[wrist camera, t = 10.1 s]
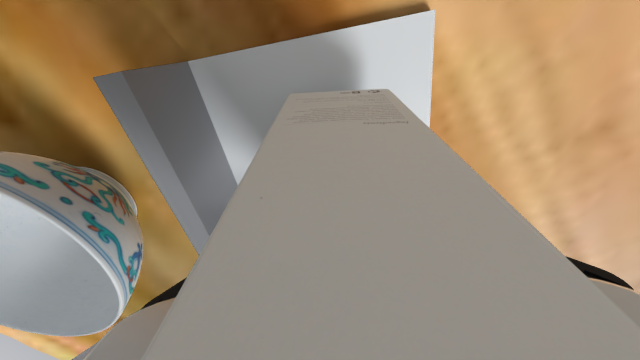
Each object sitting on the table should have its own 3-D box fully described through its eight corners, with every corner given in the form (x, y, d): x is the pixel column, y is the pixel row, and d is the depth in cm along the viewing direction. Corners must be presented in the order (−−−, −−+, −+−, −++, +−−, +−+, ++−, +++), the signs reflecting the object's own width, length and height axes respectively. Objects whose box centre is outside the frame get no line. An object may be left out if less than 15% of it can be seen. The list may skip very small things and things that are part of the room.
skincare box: (289, 91, 14) (-255, 713, 1) (396, 86, 13) (1656, 1032, 1) (302, 209, 18) (223, 623, 5) (384, 207, 18) (517, 656, 5)
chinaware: (213, 244, 24) (167, 324, 17) (93, 268, 27) (13, 345, 20) (107, 90, 17) (-44, 124, 10) (-42, 144, 19) (-237, 199, 13)
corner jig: (422, 227, 21) (450, 288, 16) (250, 244, 23) (226, 302, 18) (431, 10, 14) (491, -7, 8) (172, 64, 16) (92, 77, 10)
